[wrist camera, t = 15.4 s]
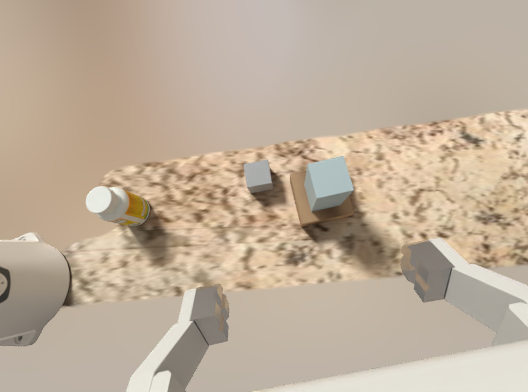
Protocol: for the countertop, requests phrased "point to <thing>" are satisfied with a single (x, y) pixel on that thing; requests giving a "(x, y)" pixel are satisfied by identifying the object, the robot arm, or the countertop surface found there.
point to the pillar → (327, 183)
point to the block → (258, 176)
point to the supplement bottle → (118, 206)
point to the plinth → (320, 215)
